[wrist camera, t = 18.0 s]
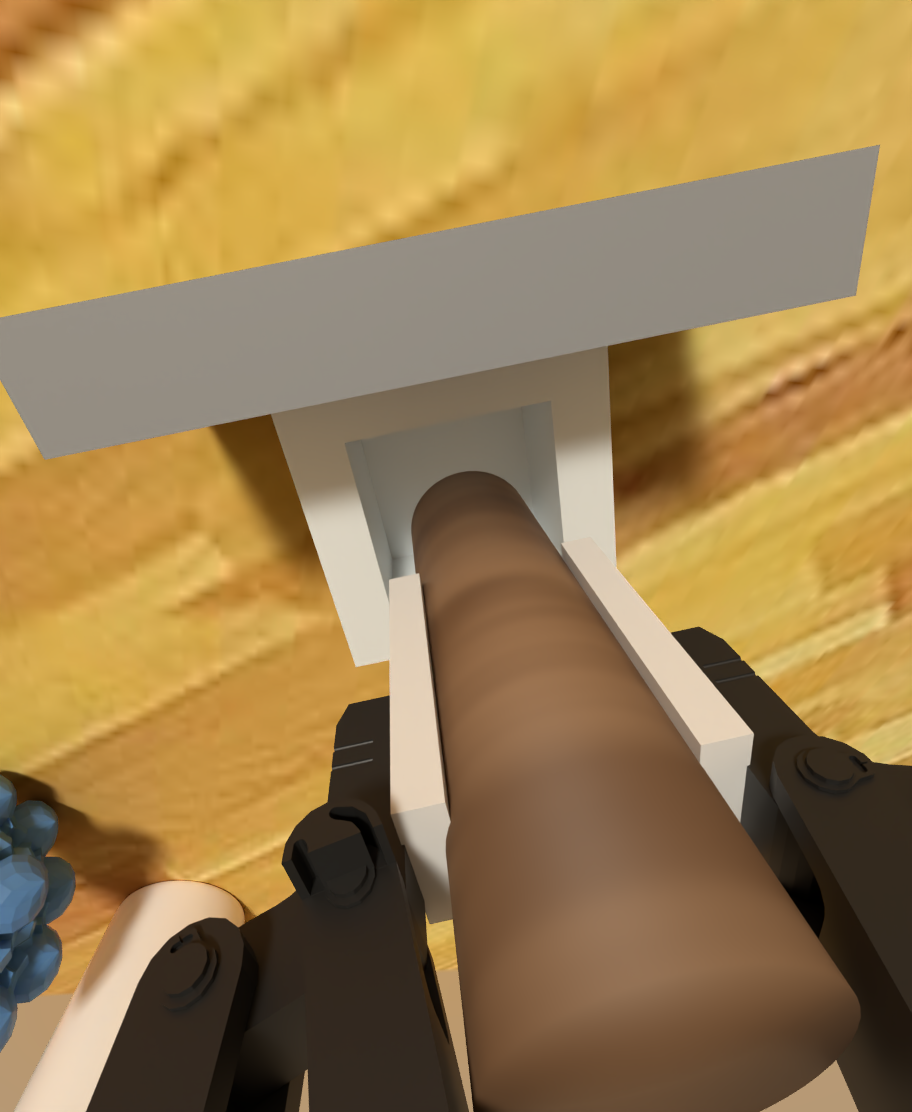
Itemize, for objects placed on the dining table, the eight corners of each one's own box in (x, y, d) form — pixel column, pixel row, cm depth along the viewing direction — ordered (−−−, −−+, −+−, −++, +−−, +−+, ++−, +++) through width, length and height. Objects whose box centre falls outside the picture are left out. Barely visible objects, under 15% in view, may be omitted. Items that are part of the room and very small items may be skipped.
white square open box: (572, 548, 27) (618, 610, 22) (362, 592, 27) (356, 667, 21) (553, 317, 22) (606, 324, 17) (295, 369, 22) (263, 393, 16)
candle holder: (251, 867, 35) (190, 1122, 24) (261, 951, 39) (213, 1198, 28) (90, 875, 33) (-51, 1148, 23) (119, 961, 38) (12, 1225, 27)
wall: (665, 295, 22) (855, 295, 13) (188, 390, 21) (45, 459, 12) (665, 210, 20) (879, 144, 11) (156, 310, 20) (-32, 324, 11)
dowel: (533, 566, 19) (827, 1105, 6) (424, 590, 19) (502, 1185, 6) (520, 459, 17) (898, 919, 4) (399, 484, 17) (437, 1032, 4)
